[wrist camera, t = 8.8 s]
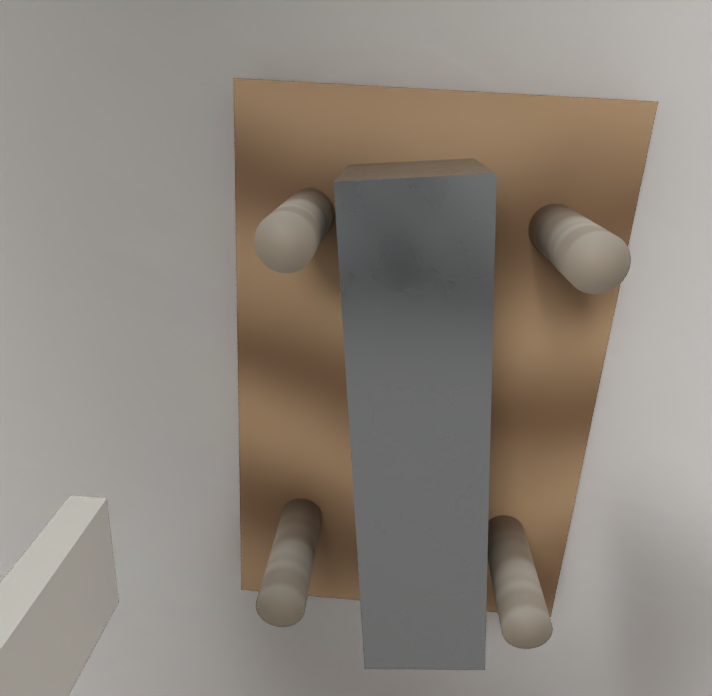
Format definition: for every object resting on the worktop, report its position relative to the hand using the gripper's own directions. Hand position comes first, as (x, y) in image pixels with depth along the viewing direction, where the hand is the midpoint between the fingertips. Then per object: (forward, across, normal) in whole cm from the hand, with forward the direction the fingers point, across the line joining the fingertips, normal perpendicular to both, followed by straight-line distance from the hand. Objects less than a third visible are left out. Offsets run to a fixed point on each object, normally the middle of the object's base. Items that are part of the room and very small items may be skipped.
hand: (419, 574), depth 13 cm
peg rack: (+12, 0, -1) cm, 12 cm away
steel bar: (+10, 0, -1) cm, 11 cm away
